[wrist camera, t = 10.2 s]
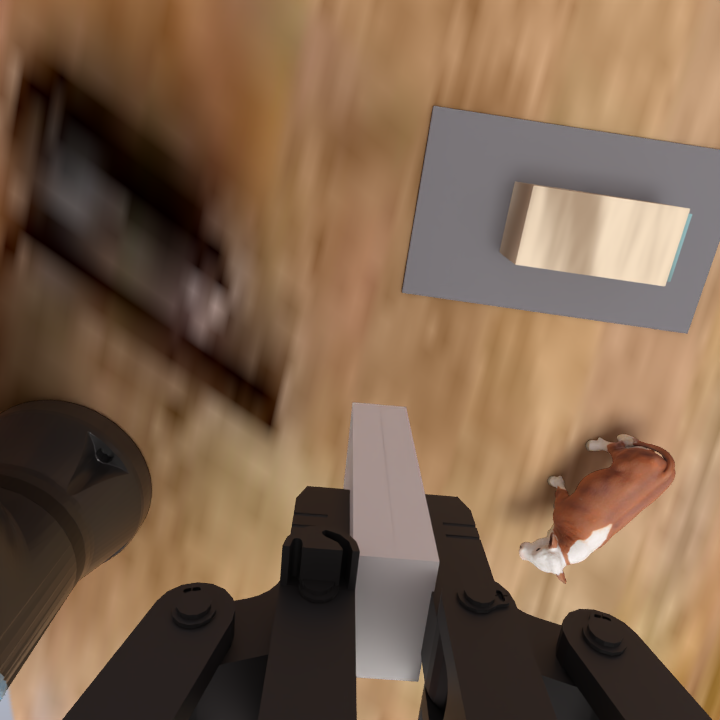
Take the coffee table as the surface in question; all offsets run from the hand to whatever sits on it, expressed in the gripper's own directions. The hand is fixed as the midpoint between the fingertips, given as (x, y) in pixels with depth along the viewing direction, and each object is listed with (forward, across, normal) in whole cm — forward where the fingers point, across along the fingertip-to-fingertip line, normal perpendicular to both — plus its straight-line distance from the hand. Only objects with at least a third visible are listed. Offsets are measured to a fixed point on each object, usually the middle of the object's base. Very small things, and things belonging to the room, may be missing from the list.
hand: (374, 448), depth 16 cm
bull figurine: (+28, +20, -16) cm, 38 cm away
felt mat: (+28, +15, +4) cm, 32 cm away
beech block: (+25, +10, +5) cm, 28 cm away
